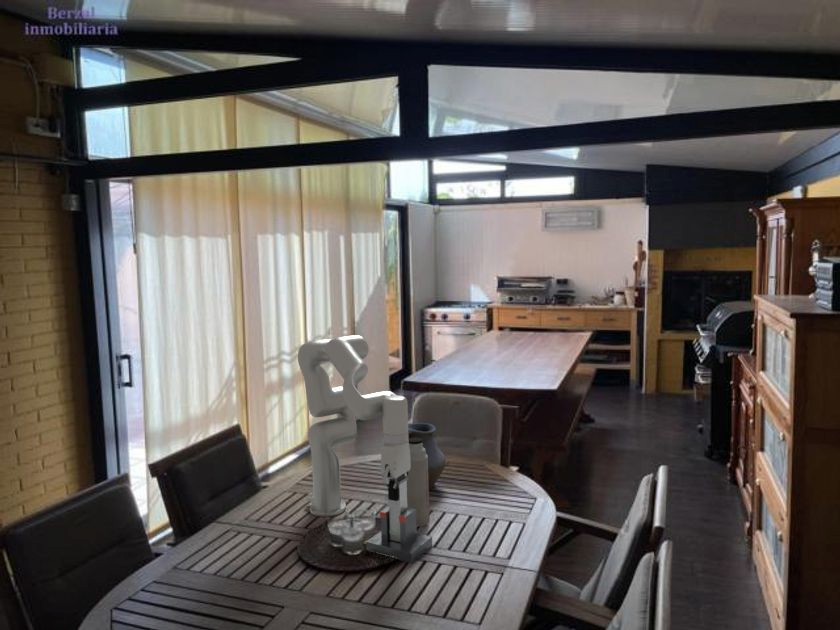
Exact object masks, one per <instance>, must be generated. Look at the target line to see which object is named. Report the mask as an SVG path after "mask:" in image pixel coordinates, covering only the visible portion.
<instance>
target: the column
mask: <svg viewBox="0 0 840 630" xmlns="http://www.w3.org/2000/svg"><path fill="white" fill-rule="evenodd" d="M407 480H408V476H402V475H401V476H399V477H397V488H398V501H393V500H389V499H388V506H389V526H390V529H389V533H390V540H394V541H398V542H400V521H399V516H400V515H401V514H403V513H404V512H406V511H407ZM390 481H392V482H393V479H391V480H390Z"/></svg>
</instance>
